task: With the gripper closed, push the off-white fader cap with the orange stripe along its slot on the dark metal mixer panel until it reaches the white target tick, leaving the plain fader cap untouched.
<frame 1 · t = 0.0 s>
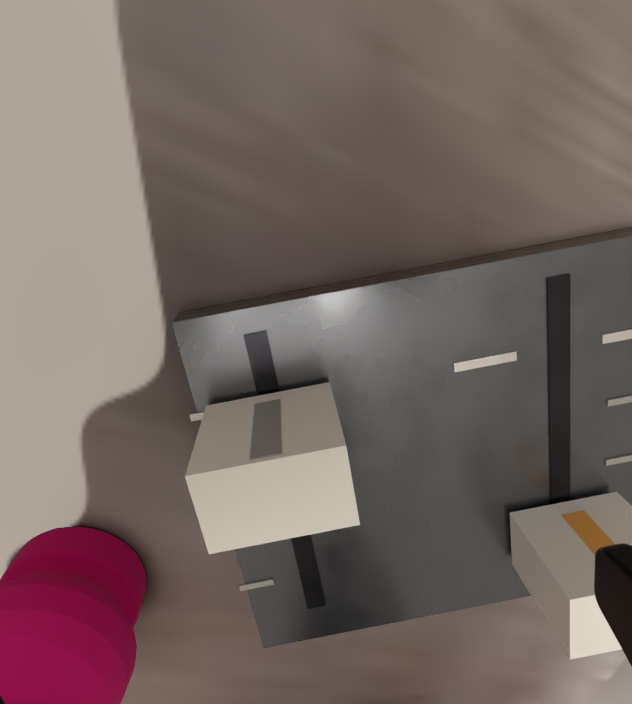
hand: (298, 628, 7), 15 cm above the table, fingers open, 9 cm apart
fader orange: (595, 568, 21), point 4 cm above the table, slide at 0.0 cm
pepper mill: (83, 574, 25), on the table
fader plain: (275, 459, 18), point 4 cm above the table, slide at 0.0 cm
mixer panel: (427, 448, 24), on the table
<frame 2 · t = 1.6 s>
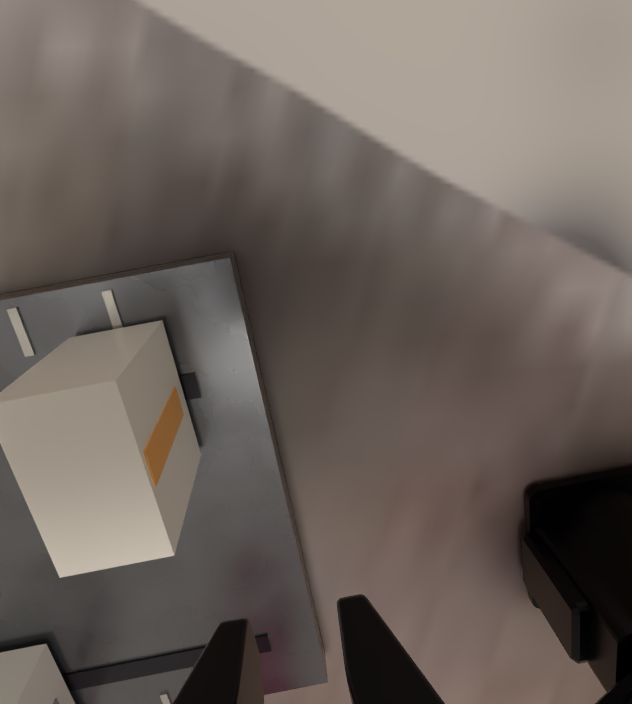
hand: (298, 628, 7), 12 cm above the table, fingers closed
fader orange: (116, 435, 15), point 4 cm above the table, slide at 0.0 cm
mixer panel: (79, 522, 20), on the table
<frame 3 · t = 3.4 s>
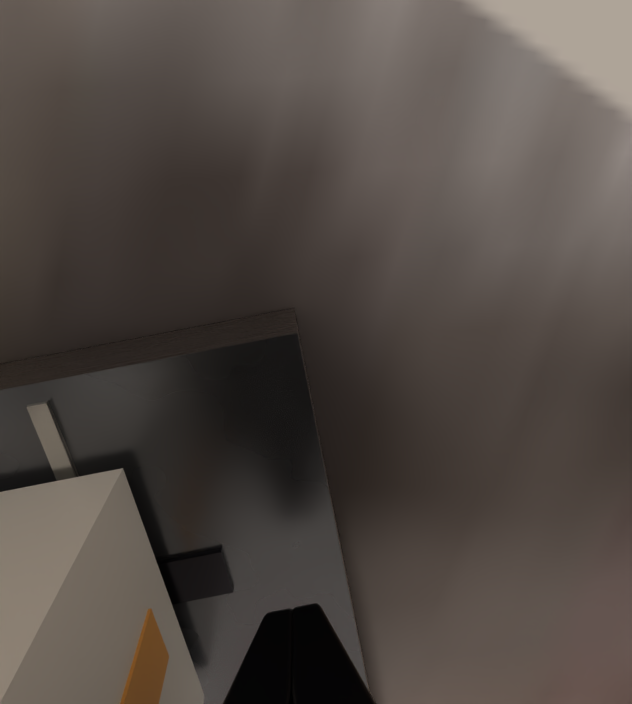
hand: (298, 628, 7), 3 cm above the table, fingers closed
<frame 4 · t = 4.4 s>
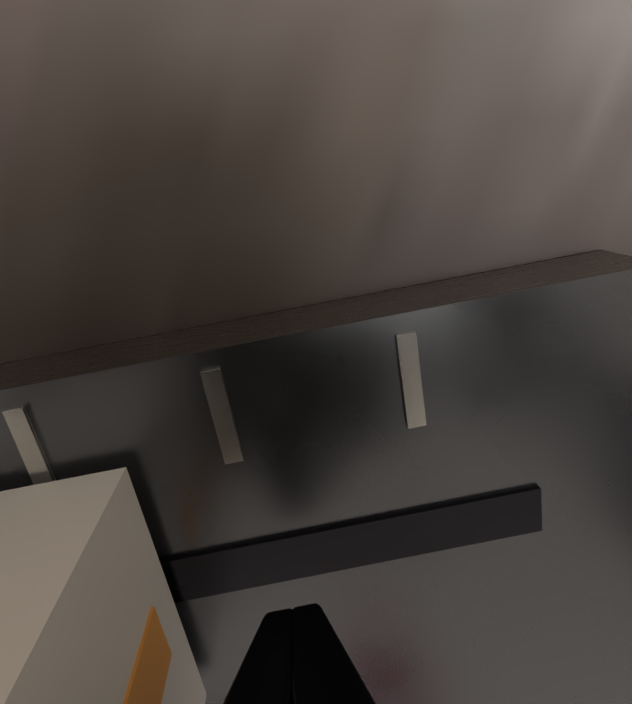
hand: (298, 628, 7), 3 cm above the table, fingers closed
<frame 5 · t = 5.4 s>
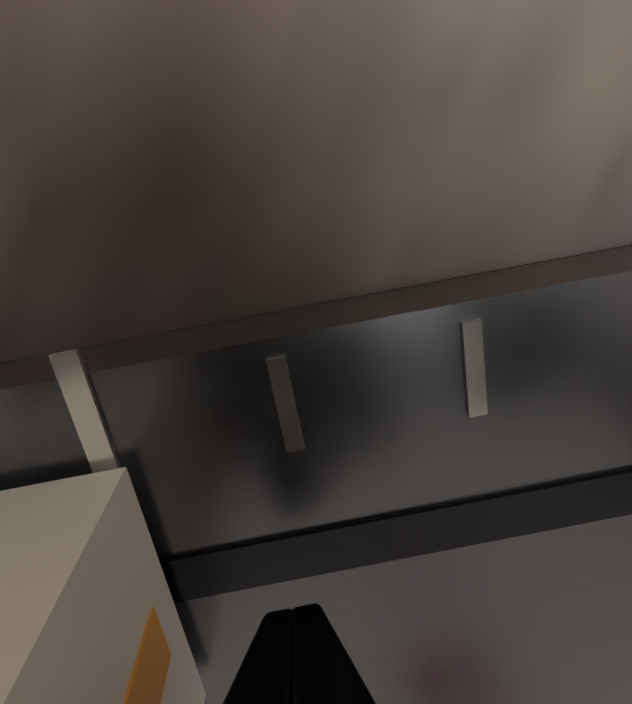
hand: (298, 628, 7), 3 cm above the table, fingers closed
mixer panel: (412, 675, 12), on the table
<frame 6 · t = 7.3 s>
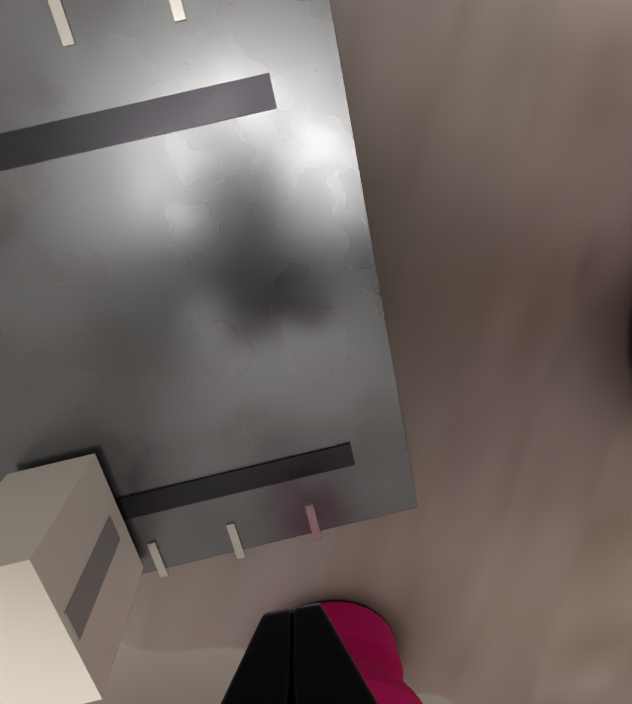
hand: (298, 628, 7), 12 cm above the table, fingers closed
pepper mill: (327, 648, 24), on the table
fader plain: (50, 575, 15), point 4 cm above the table, slide at 0.0 cm
mixer panel: (126, 314, 17), on the table
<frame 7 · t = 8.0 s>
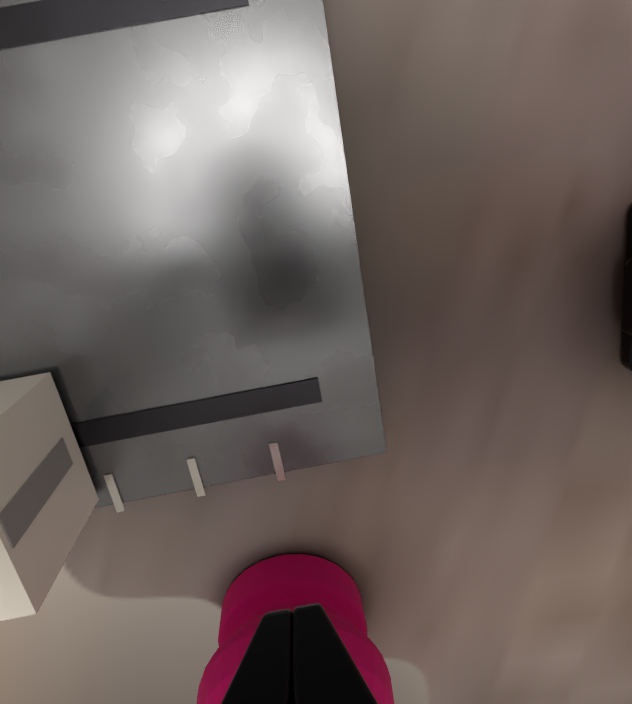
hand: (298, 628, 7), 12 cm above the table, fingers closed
pepper mill: (292, 604, 23), on the table
mixer panel: (90, 230, 17), on the table
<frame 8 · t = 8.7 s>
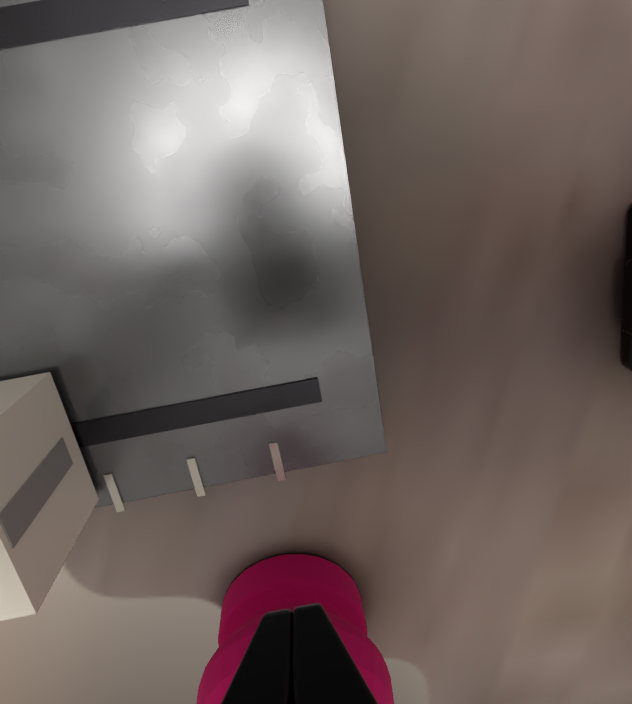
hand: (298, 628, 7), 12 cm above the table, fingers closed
pepper mill: (292, 604, 23), on the table
mixer panel: (90, 230, 17), on the table
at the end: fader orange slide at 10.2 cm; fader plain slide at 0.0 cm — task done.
